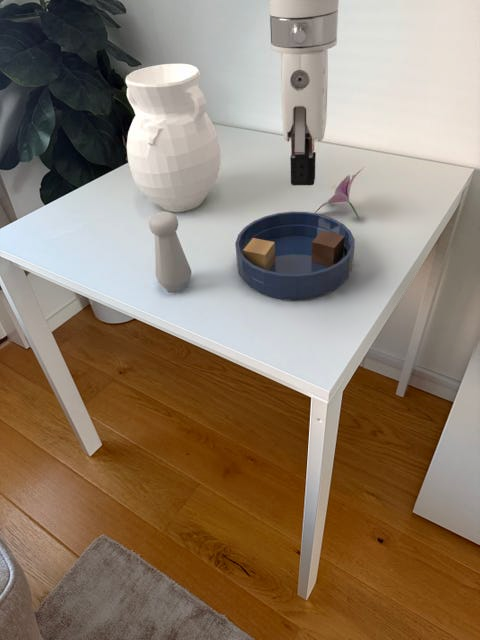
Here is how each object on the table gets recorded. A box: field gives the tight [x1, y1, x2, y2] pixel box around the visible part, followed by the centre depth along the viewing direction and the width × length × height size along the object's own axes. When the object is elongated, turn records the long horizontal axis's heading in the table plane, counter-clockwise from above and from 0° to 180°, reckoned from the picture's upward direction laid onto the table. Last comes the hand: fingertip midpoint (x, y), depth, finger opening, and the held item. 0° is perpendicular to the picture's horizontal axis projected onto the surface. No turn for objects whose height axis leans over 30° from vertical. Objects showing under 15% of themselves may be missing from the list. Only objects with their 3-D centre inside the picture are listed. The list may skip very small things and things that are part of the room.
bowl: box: [235, 211, 356, 301], centre depth 80 cm, size 19×19×5 cm
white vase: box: [125, 63, 221, 213], centre depth 94 cm, size 19×18×25 cm
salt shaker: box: [148, 210, 192, 293], centre depth 76 cm, size 6×6×13 cm
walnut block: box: [311, 230, 345, 267], centre depth 80 cm, size 4×4×4 cm
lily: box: [314, 166, 365, 220], centre depth 91 cm, size 12×12×10 cm
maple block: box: [243, 238, 275, 271], centre depth 80 cm, size 4×4×4 cm
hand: (302, 182), depth 66 cm, fingers closed
